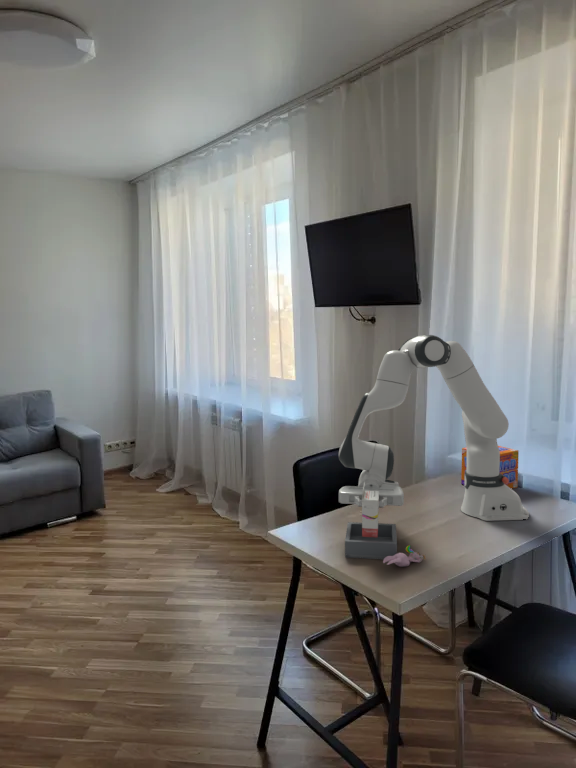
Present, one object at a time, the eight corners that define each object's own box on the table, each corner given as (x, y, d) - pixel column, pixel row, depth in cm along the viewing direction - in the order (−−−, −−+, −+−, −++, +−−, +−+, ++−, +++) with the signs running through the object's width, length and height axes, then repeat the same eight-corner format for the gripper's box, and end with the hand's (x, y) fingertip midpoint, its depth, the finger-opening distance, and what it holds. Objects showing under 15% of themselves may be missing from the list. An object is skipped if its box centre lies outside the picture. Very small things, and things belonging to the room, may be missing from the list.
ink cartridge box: (378, 538, 163) (378, 490, 160) (361, 537, 164) (361, 490, 161) (378, 526, 171) (379, 481, 169) (362, 525, 172) (362, 480, 170)
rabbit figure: (413, 559, 163) (376, 565, 154) (415, 540, 162) (378, 544, 154) (429, 567, 157) (392, 573, 149) (431, 546, 157) (395, 552, 149)
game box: (491, 494, 214) (492, 455, 212) (460, 484, 227) (461, 447, 225) (517, 488, 221) (519, 450, 219) (486, 478, 235) (487, 442, 233)
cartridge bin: (395, 539, 174) (395, 524, 173) (396, 560, 159) (397, 543, 159) (348, 536, 176) (347, 522, 176) (345, 557, 162) (344, 541, 161)
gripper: (339, 479, 181) (336, 493, 167) (402, 481, 177) (404, 496, 164) (339, 497, 181) (336, 513, 168) (402, 500, 178) (404, 516, 164)
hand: (370, 504), depth 166 cm, fingers closed on ink cartridge box, 5 cm apart
